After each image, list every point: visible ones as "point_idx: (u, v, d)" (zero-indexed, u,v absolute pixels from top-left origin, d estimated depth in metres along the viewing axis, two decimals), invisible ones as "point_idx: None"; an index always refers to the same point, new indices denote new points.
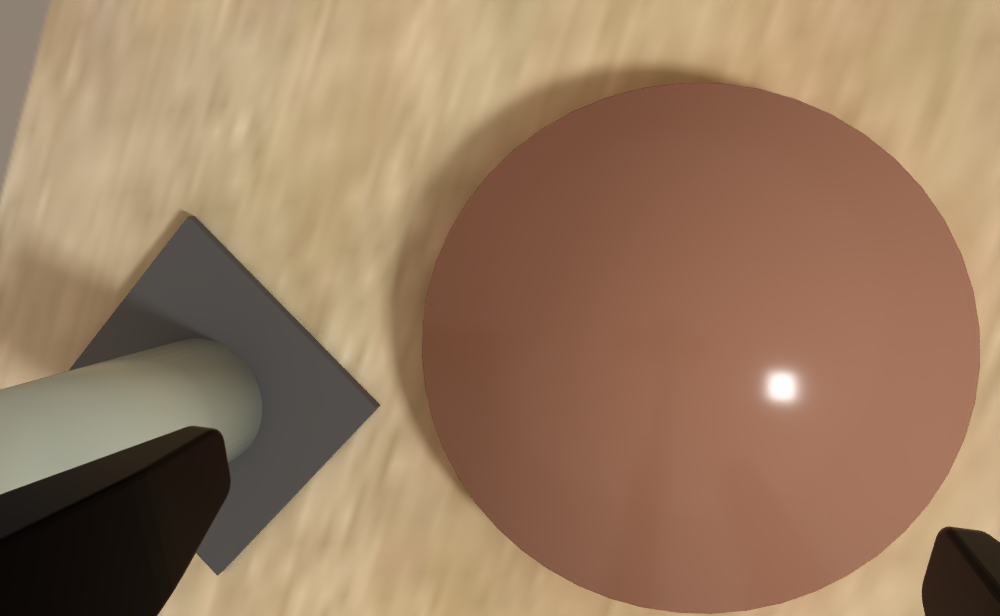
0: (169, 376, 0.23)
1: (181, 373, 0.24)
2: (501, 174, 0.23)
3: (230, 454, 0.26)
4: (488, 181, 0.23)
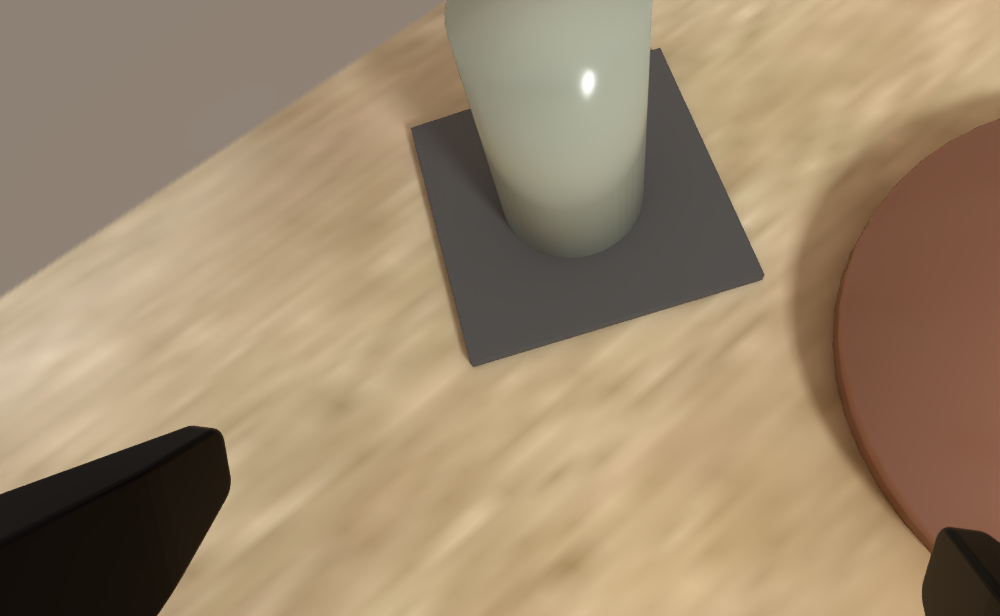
0: None
1: None
2: None
3: (602, 229, 0.23)
4: None
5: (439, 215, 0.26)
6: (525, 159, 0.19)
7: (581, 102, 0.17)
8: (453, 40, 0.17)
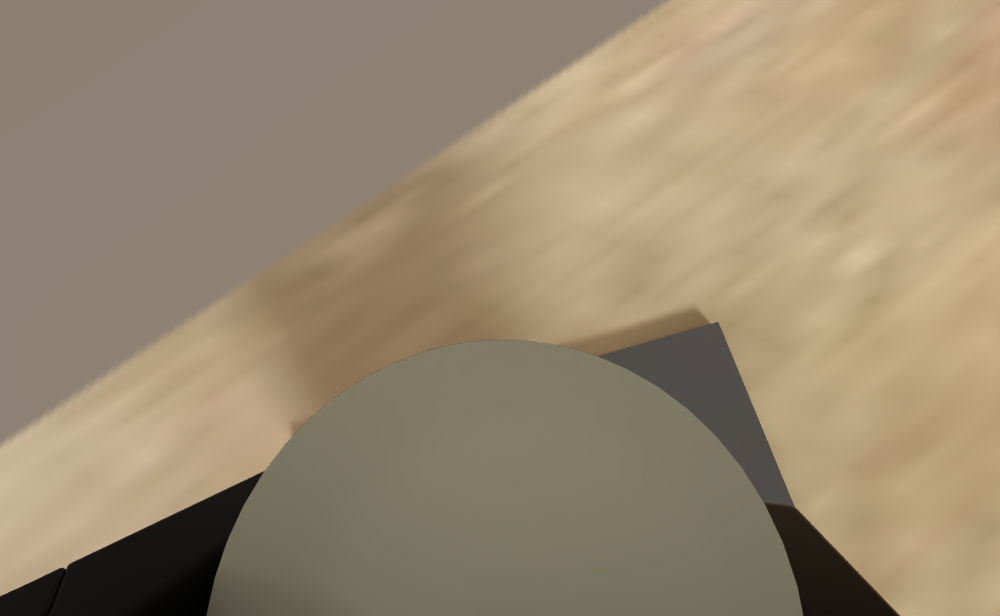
0: None
1: None
2: None
3: None
4: None
5: None
6: None
7: None
8: None
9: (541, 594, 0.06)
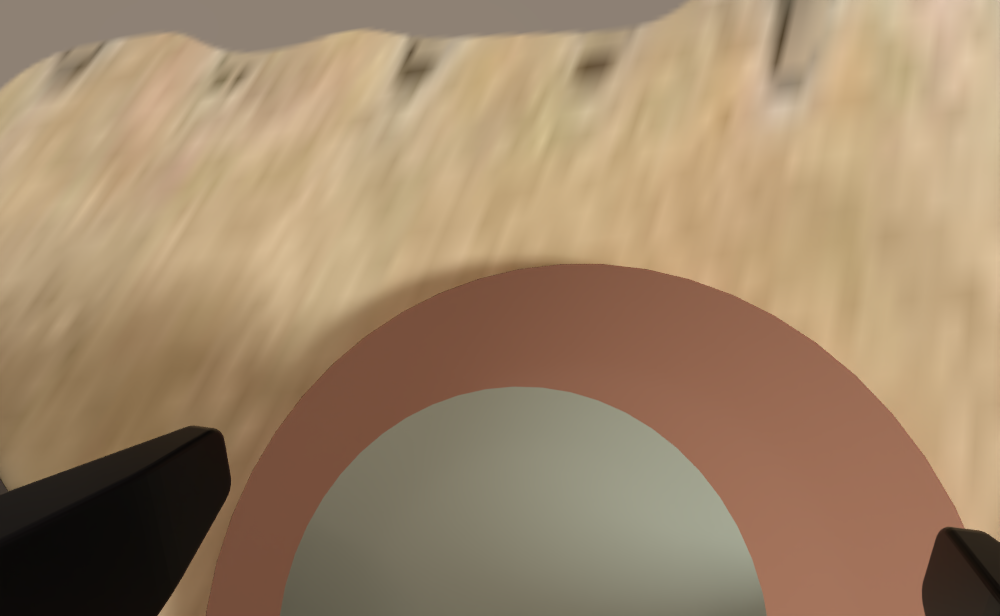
0: None
1: None
2: (349, 362, 0.19)
3: None
4: (333, 370, 0.18)
5: None
6: None
7: None
8: None
9: (556, 599, 0.07)
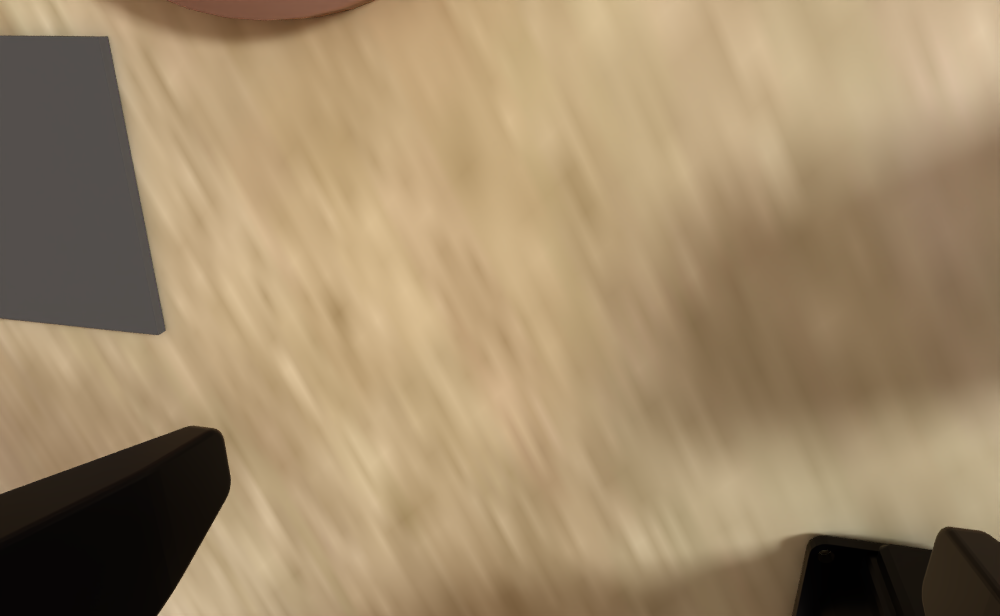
0: None
1: None
2: None
3: None
4: None
5: (20, 315, 0.27)
6: None
7: None
8: None
9: None
